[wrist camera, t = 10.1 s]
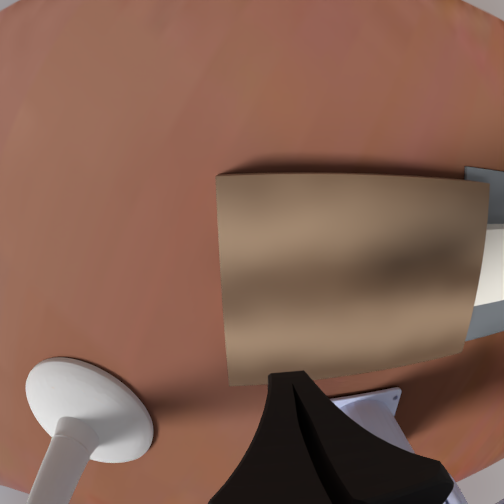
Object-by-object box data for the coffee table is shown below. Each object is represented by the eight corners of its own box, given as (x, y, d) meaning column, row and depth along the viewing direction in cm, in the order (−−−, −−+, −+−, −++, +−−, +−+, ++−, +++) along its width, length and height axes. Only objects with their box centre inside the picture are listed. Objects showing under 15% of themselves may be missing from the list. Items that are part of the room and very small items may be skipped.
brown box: (443, 335, 24) (461, 352, 21) (229, 360, 23) (229, 386, 20) (464, 179, 20) (489, 183, 17) (218, 174, 19) (215, 176, 16)
